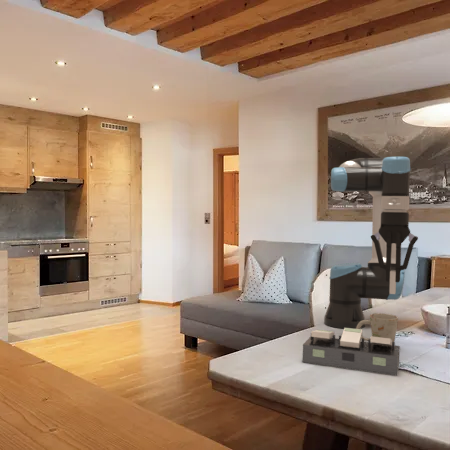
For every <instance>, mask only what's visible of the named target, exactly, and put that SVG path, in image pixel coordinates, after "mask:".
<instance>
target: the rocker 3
mask: <svg viewBox="0 0 450 450" xmlns="http://www.w3.org/2000/svg"><path fill="white" fill-rule="evenodd" d="M370 338H371V340H370V342H371V343H374V344H383V345H391V346H392V340H391V339H390V338H381V337H372V335H371V336H370Z"/></svg>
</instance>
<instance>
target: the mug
mask: <svg viewBox="0 0 450 450" xmlns="http://www.w3.org/2000/svg"><path fill="white" fill-rule="evenodd" d="M398 322H399V317H398V316H397V315H394V314H389V313H381V312H380V313H378V312H377V313H371V314H370V315H369V319H365V320H362V321H360V322H359V323H358V325H357V327H356V329H362V328H361V326H362V325H363V324H365V325H370V328H371V329H370V330H371V336H372V337H381V338H390V339H391V340H392V342H396V341H395V340H396V335H397V328H398ZM362 338H364V342H368V340H369V339H371V337H370V338H367V337H364V336H363V335H362ZM362 338H361V340H362Z"/></svg>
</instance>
